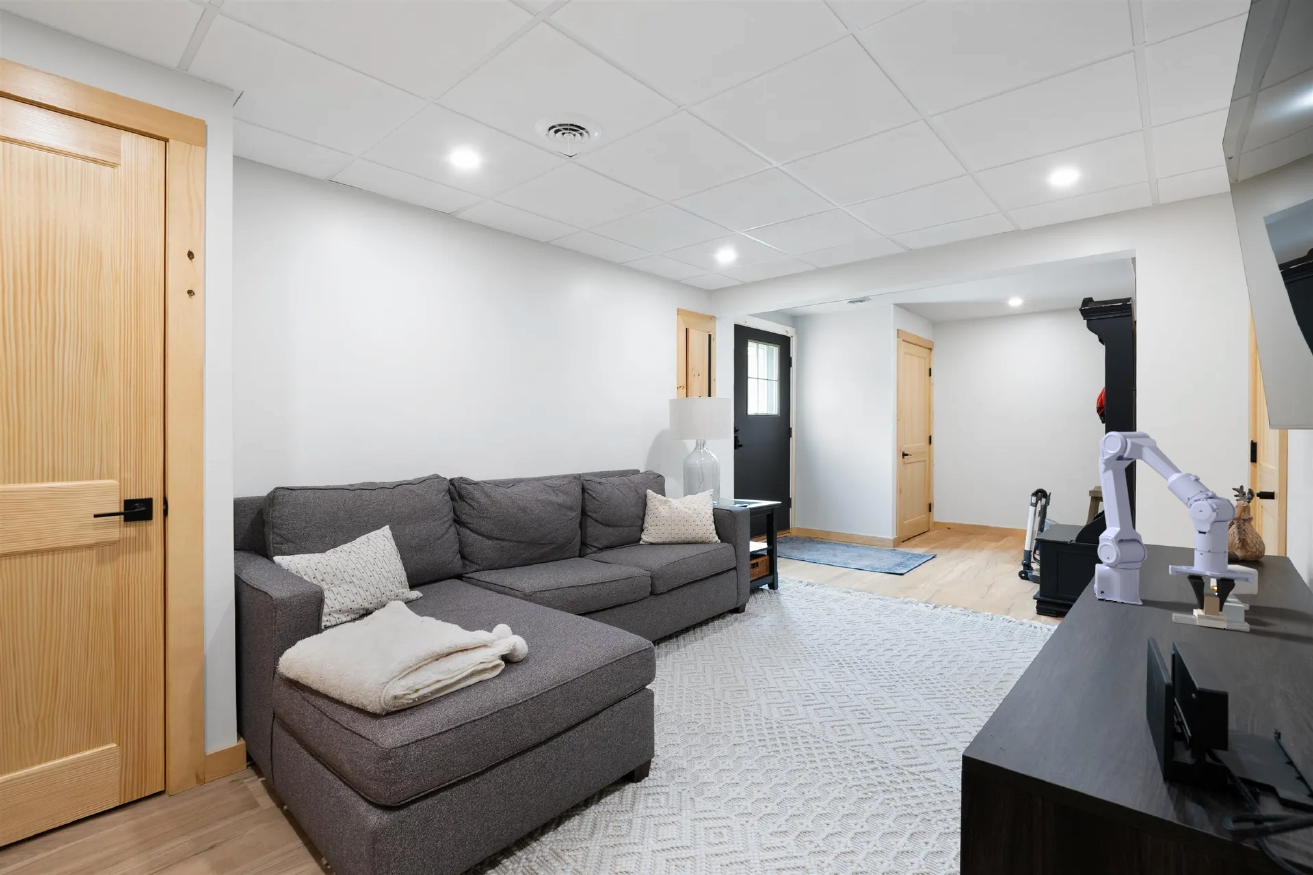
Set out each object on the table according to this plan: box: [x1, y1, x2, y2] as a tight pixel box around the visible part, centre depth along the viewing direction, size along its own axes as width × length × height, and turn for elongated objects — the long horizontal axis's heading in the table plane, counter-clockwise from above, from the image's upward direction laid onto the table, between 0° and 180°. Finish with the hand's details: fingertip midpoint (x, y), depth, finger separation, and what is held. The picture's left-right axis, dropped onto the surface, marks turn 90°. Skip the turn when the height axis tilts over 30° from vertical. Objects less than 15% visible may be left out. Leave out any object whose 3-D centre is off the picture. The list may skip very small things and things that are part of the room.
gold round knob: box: [1210, 585, 1228, 603], centre depth 149 cm, size 3×3×4 cm
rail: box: [1171, 612, 1250, 633], centre depth 143 cm, size 13×2×2 cm, turn 58°
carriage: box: [1192, 592, 1227, 630], centre depth 143 cm, size 5×4×7 cm
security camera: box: [1210, 564, 1259, 611], centre depth 157 cm, size 6×7×10 cm
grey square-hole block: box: [1197, 598, 1245, 622], centre depth 149 cm, size 7×7×4 cm
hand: (1209, 609), depth 143 cm, fingers closed on carriage, 2 cm apart
